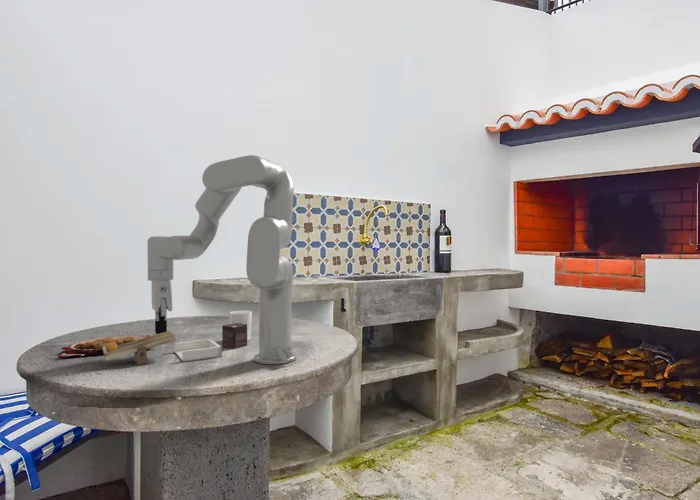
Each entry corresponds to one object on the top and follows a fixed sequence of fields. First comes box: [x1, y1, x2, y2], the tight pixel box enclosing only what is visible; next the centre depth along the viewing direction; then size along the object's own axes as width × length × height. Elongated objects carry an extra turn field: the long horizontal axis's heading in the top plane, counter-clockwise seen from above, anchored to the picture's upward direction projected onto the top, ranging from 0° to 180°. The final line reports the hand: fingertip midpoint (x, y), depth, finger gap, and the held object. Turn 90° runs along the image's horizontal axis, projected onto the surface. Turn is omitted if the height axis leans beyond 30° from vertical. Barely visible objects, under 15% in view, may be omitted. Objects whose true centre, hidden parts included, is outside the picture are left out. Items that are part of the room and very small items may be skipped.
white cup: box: [229, 310, 253, 341], centre depth 166 cm, size 8×8×10 cm
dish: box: [173, 338, 223, 363], centre depth 144 cm, size 14×12×3 cm
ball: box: [106, 342, 118, 352], centre depth 132 cm, size 3×3×3 cm
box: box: [221, 323, 248, 350], centre depth 156 cm, size 6×6×7 cm
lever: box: [102, 330, 177, 361], centre depth 139 cm, size 13×19×4 cm, turn 121°
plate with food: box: [58, 334, 150, 358], centre depth 155 cm, size 25×26×4 cm
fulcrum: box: [133, 346, 148, 366], centre depth 136 cm, size 8×2×5 cm, turn 31°
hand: (161, 332), depth 145 cm, fingers closed
